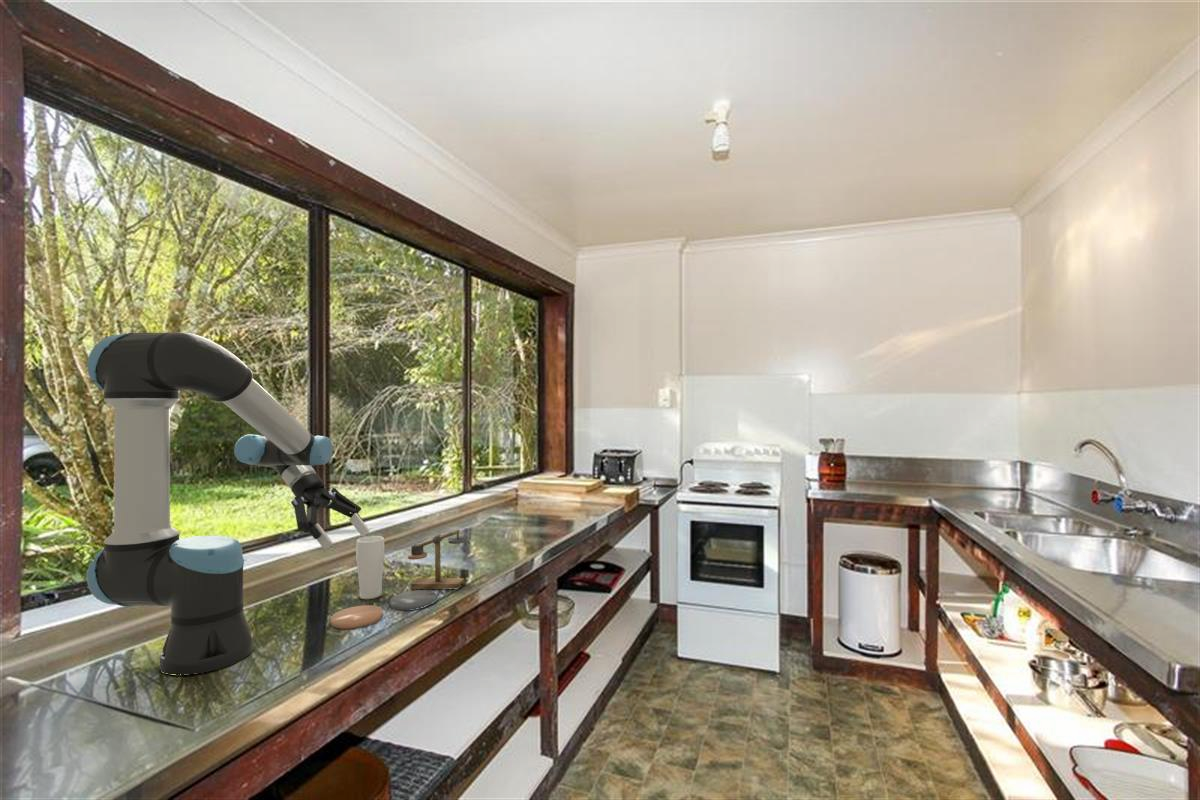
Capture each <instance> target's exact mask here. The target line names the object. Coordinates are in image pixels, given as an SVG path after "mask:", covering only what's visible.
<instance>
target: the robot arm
mask: <svg viewBox="0 0 1200 800" xmlns="http://www.w3.org/2000/svg"><path fill="white" fill-rule="evenodd" d="M86 367H87V369H86V370H87V373H88V376H89V379H90V380H92V381H93V384H94V385H95V386H96V387H97V388H98V389H100V390H102V391H103V401H104V402H106V404H108V405H109V406H111V408H113V409H114V420H113V421H114V422H113V423H114V426H113V428H114V435H113V436H114V438H113V440H114V442H113V443H114V444H113V445H114V448H113V449H114V453H113V455H114V458H113V459H114V463H113V464H114V465H113V467H114V469H113V471H114V472H113V473H114V476H113V477H114V483H113V484H114V487H113V488H114V489H113V490H114V492H113V494H114V497H113V499H114V500H113V503H114V505H113V508H114V509H113V510H114V511H113V512H114V514H113V515H114V521H113V523H114V526H113V528H114V530H113V531H112V533H110V535H108V536H107V537H106V538H105V539H104V540H103V548H102V549H101V550H99V551H98V552H97V553H96V554H95V555H94V557H93V561H91V562H90V563H89V565H88V568H87V571H86V572H87V573H86V584H87V587H88V590H89V592H90V593H91V594H92V596H93V597H94V598H96V600H99V601H100V602H102V603H104V604H107V605H114V606H116V605H117V606H121V607H137V606H139V607H141V606H144V607H145V606H146V607H147V606H148V607H151V606H152V607H155V606H156V607H158V606H159V607H166V606H167V607H170V628H169V630H168V633H167V636H166V639H165V641H164V644H163V648H162V651H161V653H160V655H159V671H160V670H161V671H162V672H164V673H168V674H176V675H180V674H181V675H184V674H194V673H201V674H205V673H204V672H206V673H210V672H214V671H217V670H221V669H224V668H226V667H228V666H231V665H234V664H236V663H238V662H240V661H242V660H244V659H245V658H247V657H248V656H249V655H251V654H252V653H253V651H254V648H255V646H254V641H255V640H254V634H253V632H251V629H250V627H249V624H248V620H247V618H246V615H245V613H244V565H245V559H244V557H243V555H244V554H243V546H242V545H241V542H240V541H238V540H237V539H235V538H233V537H229V536H224V535H216V534H215V535H211V534H210V535H209V534H208V535H194V536H188V537H183V538H180V531H179V530H178V529H177V528H176V527H174V526H172V525H171V408H172V407H173V406H175V404H177V403H178V402H179V401H180V391H187V392H188V391H190V392H195V393H199V394H202V395H204V396H205V397H207V398H208V399H209V400H211V401H213V402H216V403H222V404H223V405H225V406H226V407H227V408H229V409H230V410H232V412H234V413H235V414H236V415H237V416H239V417H240V418H241V419H243V421H245V422H246V423H247V424H248V425H250V426H251V427H253V429H254V430H256V431H257V432H258V433H260V434H261V435H260V434H253V433H250V434H245V435H243V436H241V437H240V438H239V439H238V440H237V441H236V442H235V445H234V449H233V450H234V451H233V452H234V453H233V454H234V456H235V458H236V459H237V461H239V462H240V463H243V464H246V465H249V466H252V465H253V466H259V467H267V468H271V469H274V470H275V471H276V472H277V474H278V475H279V476H280V478H282V480H283V481H284V483H285V484H286V485H287V487H289V489H290V491H291V492H292V493H293V495H294V496H295V497H294V498H293V499H292V500H291V506H293V508H294V515H295V519H296V525H297V529H298V531H303V532H304V533H306V534H307V533H309V534H310V535H311V537H313V538H312V539H314V540H316V541H317V542H318V543H319V544H320V547H322V549H323V550H324V551H326V550H328V549H329V548H330V546H331V545H332V544H333V540H332V539H331V538H330V537H329V536H328V534H327V533H326V531H325V530H324V529H323V527H321V525H320V524H319V523H315V522H316V515H317V511H318V510H320V509H327V510H330V509H331V510H332V511H336V512H337V513H340V514H341V515H344V516H345V517H348V518H349V519H348V520H349V521H350V523H351V524H352V526H353V527H354V528H355V529H356V531H357V532H358V533H359V535H360V537H361V538H363V537H367V534H368V533H369V532H370V531H371V529H370V528H369V527H368V526H367V524H365V521H364V519H363V518H362V517H361V515H360V514H359V513H360V512H361V510H362V508H361V507H360V505H358V504H356V503H355V502H354V501H352V500H350V499H349V498H347V497H346V496H345V495H343V494H342V493H341V492H340V491H339V490H338V489H337V488H335V487H332V488H331V490H327V489H326V488H325V483H324V481H323V480H322V478H321V477H320V475H319V474H318V473H317V472H316V470H315V469H314V468H313V467H314V466H323V465H325V464H326V465H327V463H329V462H330V461H331V458H332V456H333V452H334V448H333V447H334V446H333V443H332V440H331V439H330V438H329V437H327V436H326V435H319V434H318V435H313V434H312V433H311V431H309V430H308V429H307V428H306V427H305V426H304V425H303V424H301V422H300V421H298V420H297V419H296V418H295V417H294V416H293V415H292V414H291V413H290V412H289V411H288V410H287V409H286V408H285V407H284V406H283V405H282V404H280V403H279V402H278V400H277V399H275V398H274V397H273V396H272V395H271V394H270V393H269V392H268V391H267V390H265V389H264V388H263V386H261V385H260V383H258V382H257V381H256V380H255V379H254V373H253V371H252V369H251V368H250V367H249V366H248V365H247V364H245V362H244V361H243V360H241V359H240V358H239V357H237V356H236V355H235V354H234V353H232V352H231V351H230V350H228V349H226V348H225V347H223V346H222V345H220V344H218V343H217V342H214V341H212V340H210V339H208V338H206V337H204V336H201V335H198V334H194V333H189V332H184V331H173V332H127V333H123V334H121V333H120V334H114V335H109V336H107V337H105V338H103V339H102V340H100V342H98V343H97V344H95V346H93V348H92V349H91V351H90V353H89V356H88V358H87V363H86ZM305 505H306V506H305ZM213 670H214V671H213ZM209 671H210V672H209ZM202 672H203V673H202Z"/></svg>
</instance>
